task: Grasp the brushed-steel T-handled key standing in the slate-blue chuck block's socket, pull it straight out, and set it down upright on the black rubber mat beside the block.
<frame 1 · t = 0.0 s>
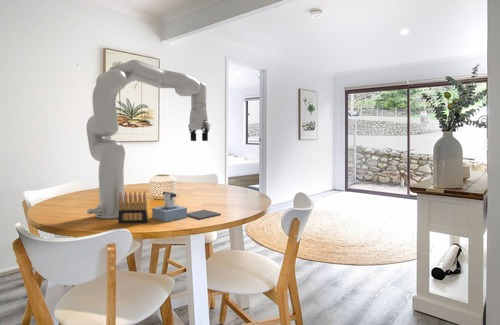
hand: (199, 140, 162), 31 cm above the table, fingers open, 9 cm apart
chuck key: (169, 205, 129), in the chuck block
ammunition clip: (133, 223, 121), on the table
chuck block: (169, 217, 129), on the table
rubber mat: (202, 215, 134), on the table
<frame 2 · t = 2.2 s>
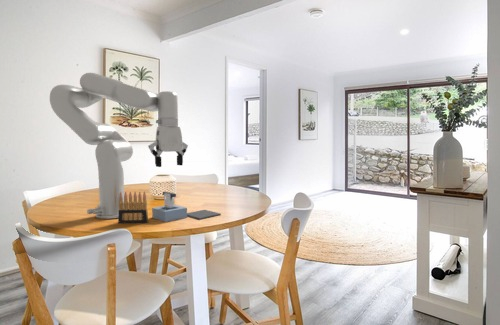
hand: (169, 165, 128), 21 cm above the table, fingers open, 9 cm apart
nothing on the table moved.
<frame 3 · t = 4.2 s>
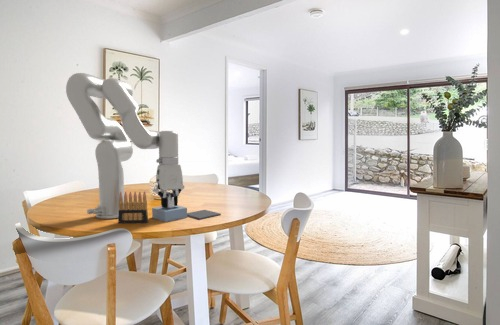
hand: (169, 205, 129), 5 cm above the table, fingers closed on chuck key, 4 cm apart
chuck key: (169, 205, 129), in the chuck block, touching gripper
everything else where it was.
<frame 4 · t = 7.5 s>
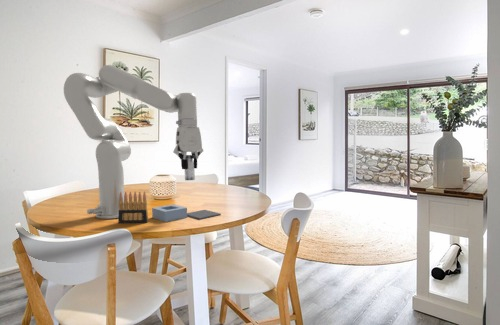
hand: (189, 168, 130), 20 cm above the table, fingers closed on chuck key, 4 cm apart
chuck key: (189, 167, 130), point 20 cm above the table, touching gripper
everything else where it was.
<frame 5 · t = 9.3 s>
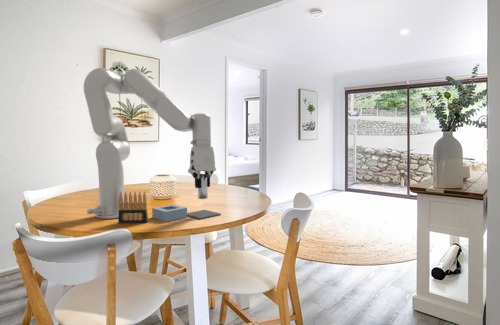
hand: (202, 186, 133), 12 cm above the table, fingers closed on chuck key, 4 cm apart
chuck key: (202, 186, 133), point 12 cm above the table, touching gripper
everything else where it was.
when the fingers open (7 cm above the table, at t = 10.6 s): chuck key drops 1 cm, resting on rubber mat.
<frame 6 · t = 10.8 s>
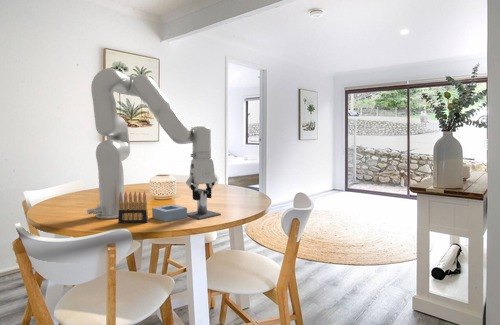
hand: (202, 198, 133), 7 cm above the table, fingers open, 6 cm apart
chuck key: (202, 201, 133), on the rubber mat, point 6 cm above the table
everything else where it was.
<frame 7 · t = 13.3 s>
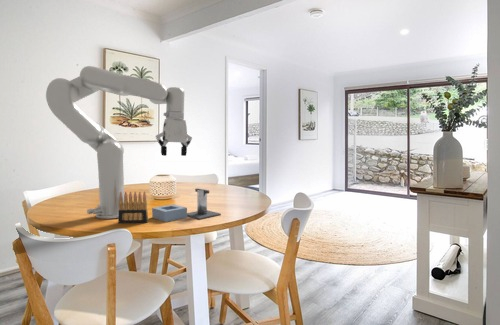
hand: (174, 155, 139), 25 cm above the table, fingers open, 9 cm apart
nothing on the table moved.
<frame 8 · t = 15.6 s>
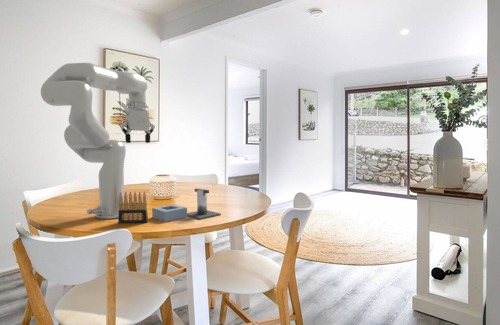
hand: (138, 142, 151), 30 cm above the table, fingers open, 9 cm apart
nothing on the table moved.
at the end: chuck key inside the target area on the rubber mat (0.1 cm from its centre), point 5.8 cm above the rubber mat's base; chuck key tilted 2°; the gripper is holding nothing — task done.
